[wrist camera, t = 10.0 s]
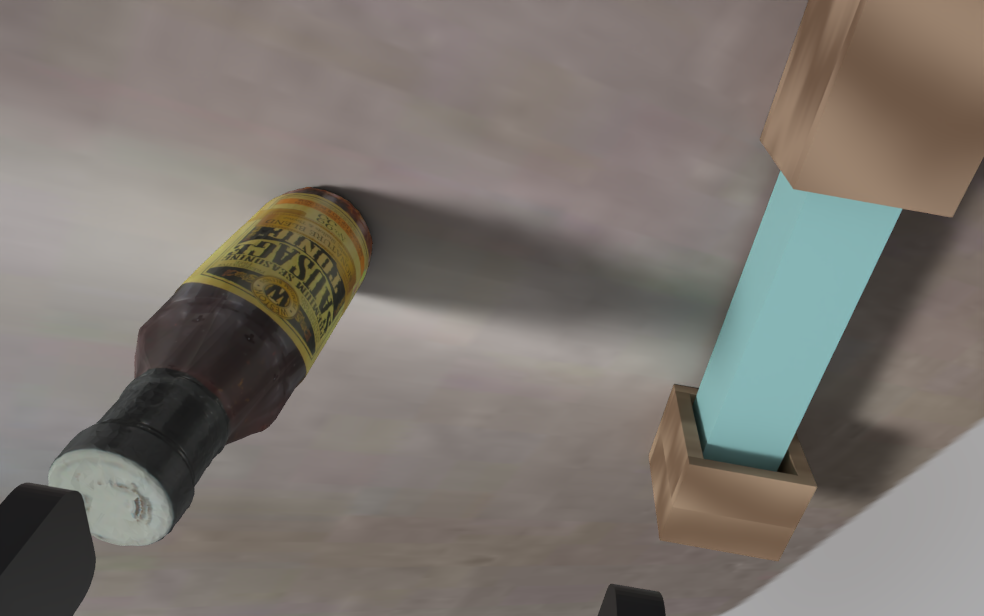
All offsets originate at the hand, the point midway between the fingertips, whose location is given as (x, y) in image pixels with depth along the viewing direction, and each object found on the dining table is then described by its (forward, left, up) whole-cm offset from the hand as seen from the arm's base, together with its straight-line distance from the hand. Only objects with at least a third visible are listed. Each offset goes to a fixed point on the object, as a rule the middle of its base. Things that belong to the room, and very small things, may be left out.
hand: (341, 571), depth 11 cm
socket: (+17, +16, -28) cm, 36 cm away
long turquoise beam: (+8, +16, -27) cm, 32 cm away
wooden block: (-5, +16, -28) cm, 32 cm away
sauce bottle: (+9, -8, -28) cm, 30 cm away
